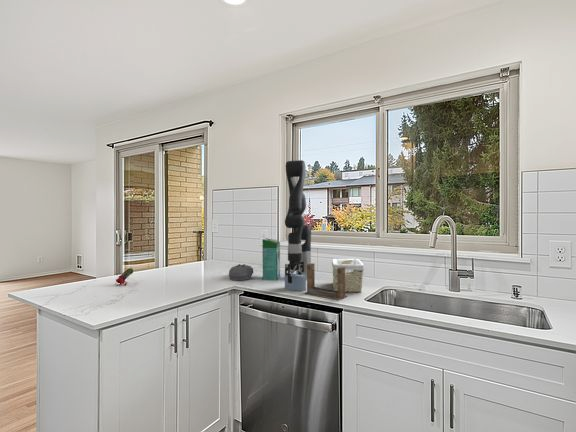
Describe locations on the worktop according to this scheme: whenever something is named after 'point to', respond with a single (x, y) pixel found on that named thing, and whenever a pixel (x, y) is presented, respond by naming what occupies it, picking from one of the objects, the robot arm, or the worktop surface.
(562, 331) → the worktop surface
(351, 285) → the storage basket
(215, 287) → the worktop surface
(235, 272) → the grey rounded bag
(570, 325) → the worktop surface
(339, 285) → the wooden u-shaped rack
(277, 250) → the milk carton
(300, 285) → the light blue block
